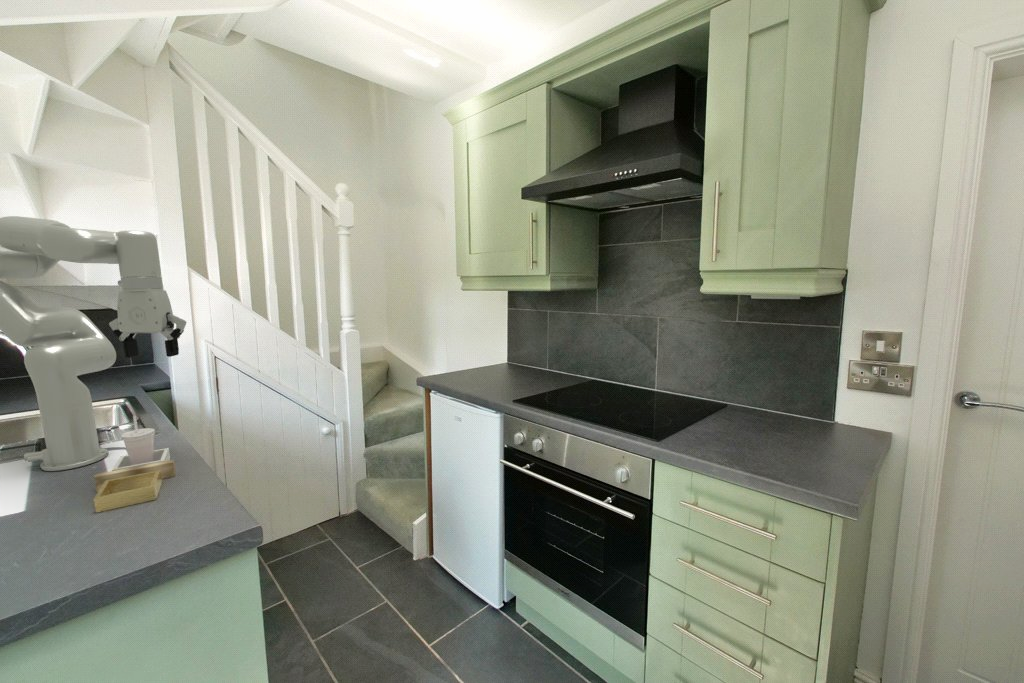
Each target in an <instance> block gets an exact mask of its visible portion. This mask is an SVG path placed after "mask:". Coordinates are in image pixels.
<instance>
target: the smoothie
mask: <svg viewBox="0 0 1024 683" xmlns="http://www.w3.org/2000/svg"><path fill="white" fill-rule="evenodd" d="M132 418H133V425H134V426H133V428H134V429H133V430H130V431H126V432H124V433H122V434H121V436H120V437H121V440H122V441H123V443H124V447H125V449H126V451H127V455H128V456H129V459H130V462H131V465H137V464H142V463H147V462H153V452H154V450H155V448H154V443H155V441H154V440H155V439H154V437H155V434H156V431H155V429H154V428H152V427H151V428H149V427H148V428H147V427H146V428H138V422H137V416H136V415H132Z"/></svg>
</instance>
